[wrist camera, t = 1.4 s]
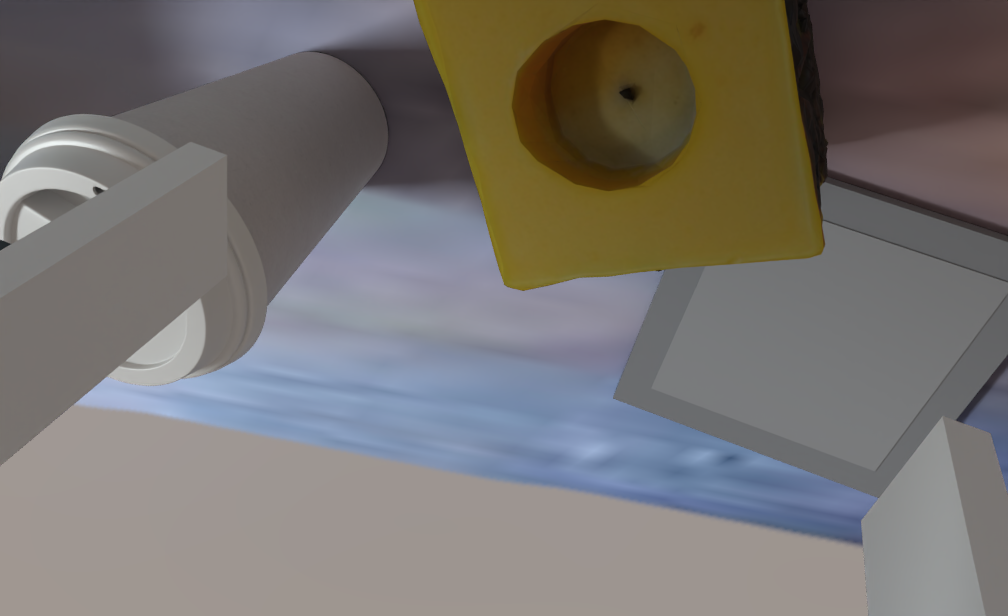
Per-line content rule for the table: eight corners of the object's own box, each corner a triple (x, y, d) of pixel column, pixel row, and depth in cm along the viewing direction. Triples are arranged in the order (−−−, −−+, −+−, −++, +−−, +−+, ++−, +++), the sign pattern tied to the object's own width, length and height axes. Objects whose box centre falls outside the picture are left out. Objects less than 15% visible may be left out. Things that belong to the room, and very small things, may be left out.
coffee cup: (460, 154, 35) (289, 342, 23) (327, 247, 40) (131, 439, 28) (319, -32, 33) (43, 72, 21) (196, 92, 38) (-82, 234, 26)
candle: (829, 152, 30) (838, 264, 21) (577, 196, 34) (504, 304, 26) (792, -145, 26) (786, -148, 18) (511, -54, 30) (400, -21, 22)
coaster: (615, 390, 40) (612, 399, 39) (717, 140, 31) (715, 147, 31) (889, 493, 38) (890, 503, 38) (1073, 257, 30) (1079, 266, 29)
